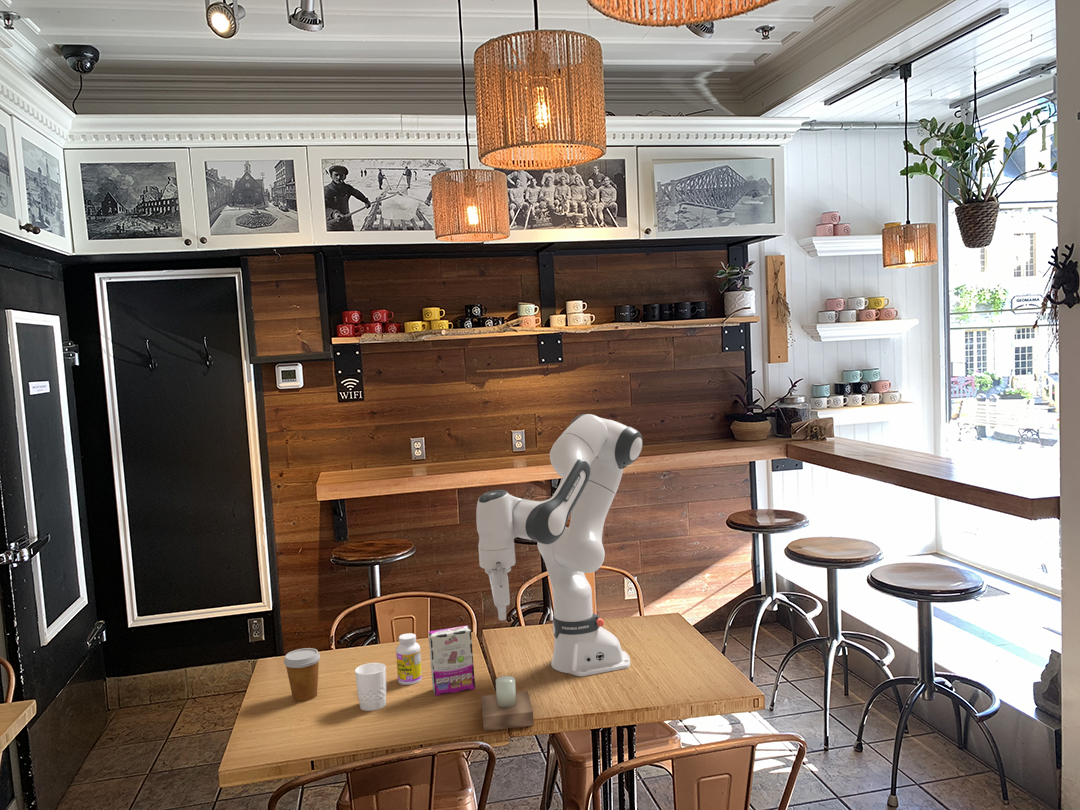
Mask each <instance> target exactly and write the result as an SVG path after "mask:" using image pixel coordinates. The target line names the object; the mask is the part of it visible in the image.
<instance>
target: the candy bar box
mask: <svg viewBox="0 0 1080 810" xmlns="http://www.w3.org/2000/svg"><path fill="white" fill-rule="evenodd" d="M427 633H428V644H429V646H428V647H429V655H430V656H429V658H430V668H431V669H430V672H431V683H432V684H431V686H432V690H433V693H434V696H435V697H436V696H437V697H438V696H443V695H449V694H455V693H460V692H465V691H466V692H467V691H471V690H475V689H476V682H475V681H476V680H475V679H476V678H475V677H476V676H475V667H474V653H473V639H472V629H471V628H470V627H469V625H461V626H456V627H449V628H444V629H436V630H430V631H428V632H427Z"/></svg>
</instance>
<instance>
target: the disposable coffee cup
mask: <svg viewBox="0 0 1080 810" xmlns="http://www.w3.org/2000/svg"><path fill="white" fill-rule="evenodd" d="M284 656H285V657H284V659H283V664H284V665H285V669H286V671H287V677H288V681H289V687H290V691H291V697H292V700H293V701H295V702H307V701H308V702H309V701H311V700H314V699H315V698H316V697H317V696H318V687H319V686H318V684H319V682H318V681H319V666H320V665H319V664H320V662H319V661H320V658H321V654H320V652H319V651H318V649H316V648H313V647H312V648H311V647H308V648H307V647H306V648H305V647H304V648H298V649H295V650H292V651H289V652H287V653H286V654H285V655H284Z"/></svg>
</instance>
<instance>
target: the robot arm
mask: <svg viewBox="0 0 1080 810" xmlns="http://www.w3.org/2000/svg"><path fill="white" fill-rule="evenodd" d="M643 445H644V438H643V435H642V434H641V432H640V431H639V430H637V429H635V428H634V427H632V426H627V425H626V424H623V423H622V422H619V421H615V420H613V419H607V418H603V417H600V416H597V415H596V414H591V413H587V414H586V413H582V414H579V415H577V416H576V417H574V418H573V419H572V420H571V422H570V424H569V426H567V428H566V429H565V430H564V431H563V432H562V433H561V434H560V436H559V437H558V438H557V439H556V440H555V441H554V443H553V444H552V446H551V449H550V451H549V461H550V464H551V467H552V468H553V470H554V471H555V472H556V473H557V475H558V476H560V477H561V478H562V480H561V482H559V485H557V489H556V490H555V491H554V493H553V495H552V496H551V497H550V498H549V499H546V500H542V501H540V500H539V501H538V500H532V499H527V498H526V499H525V498H520V497H517V496H514V495H513V494H510V493H509V492H508V491H507V490H503V489H495V490H489V491H487V492H484V493H483V494H481V495H480V496H479V497H478V499H477V502H476V503H477V504H476V512H475V513H476V515H475V516H476V517H475V518H476V530H477V533H478V537H479V538H478V545H477V546H478V560H479V567H480V568H482V569H484V571H485V573H486V574H487V575H488V579H489V583H490V588H491V593H492V594H491V595H492V600H493V603H494V607H496V608H497V613H498V614H497V615H498V617H497V618H498V621H501V622H502V621H506V620H507V606H509V605H510V604H511V603H510V602H511V599H510V598H511V597H510V586H509V575H508V573H509V572H510V573H511V571H512V567H513V566H515V564H516V563H517V562H516V550H515V549H516V548H515V539H516V538H520V539H524V540H530V541H534V542H537V550H538V551H539V553H540V556H541V557H542V558H543V562H544V563H545V567H546V570H547V571H546V572H547V574H548V578H549V581H550V585H551V590H552V601H553V616H552V633H553V636H554V640H553V641H554V642H553V643H554V644H553V655H552V659H551V663H550V666H551V668H552V669H554V670H555V671H557V672H561V673H565V674H570V675H573V676H575V677H586V676H592V675H596V674H602V673H608V672H613V671H618V670H619V671H620V670H624V669H625V670H626V669H628V668H629V667H630V666H631V657H630V656H629V654H628V653H627V652H626V651H625V650H623V649H622V647H621V644H620V641H619V639H618V638H617V636H616V635H615V634H613V633H611V631H609V630H607V629H605V628H604V627H603V626H604V625H605V622H604V620H603V618H601V616H600V615H599V614H597V613H596V612H593V595H592V593H593V592H592V586H591V584H590V582H589V581H588V579H587V577H586V575H585V574H591V573H594V572H596V571H598V570H599V569H600V568H601V566H602V565H603V563H604V560H605V556H606V555H605V554H606V552H605V548H604V545H603V533H604V526H605V522H606V519H607V516H608V513H609V510H610V508H611V505H612V503H613V500H614V499H615V497H616V494H617V491H618V489H619V486H620V483H621V480H622V477H623V473H624V469H625V468H626V467H628V466H630V465H632V464H633V463H635V462H636V461H637V460H638V458H639V456H640V455H641V453H642V450H643ZM569 517H570V522H569V526H568V527H567V524H568V520H569Z"/></svg>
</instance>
